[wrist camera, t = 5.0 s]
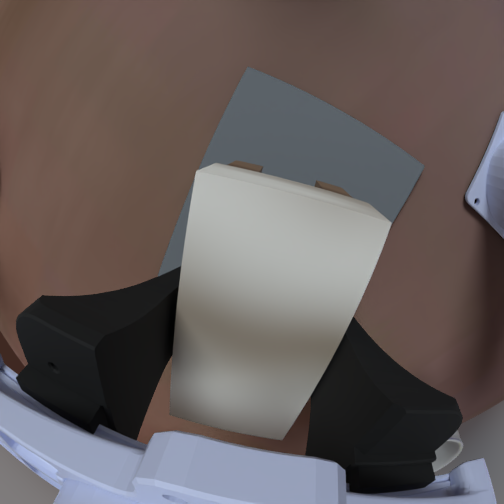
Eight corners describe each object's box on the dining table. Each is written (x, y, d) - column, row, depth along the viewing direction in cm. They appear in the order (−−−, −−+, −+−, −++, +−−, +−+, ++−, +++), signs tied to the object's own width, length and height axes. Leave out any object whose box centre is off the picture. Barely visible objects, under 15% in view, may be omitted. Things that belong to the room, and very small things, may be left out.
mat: (249, 68, 15) (247, 66, 14) (420, 165, 15) (424, 166, 15) (151, 300, 22) (148, 304, 21) (286, 363, 22) (286, 369, 22)
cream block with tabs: (284, 353, 16) (282, 440, 11) (200, 333, 16) (169, 414, 11) (344, 184, 12) (392, 222, 7) (235, 155, 12) (196, 170, 7)
